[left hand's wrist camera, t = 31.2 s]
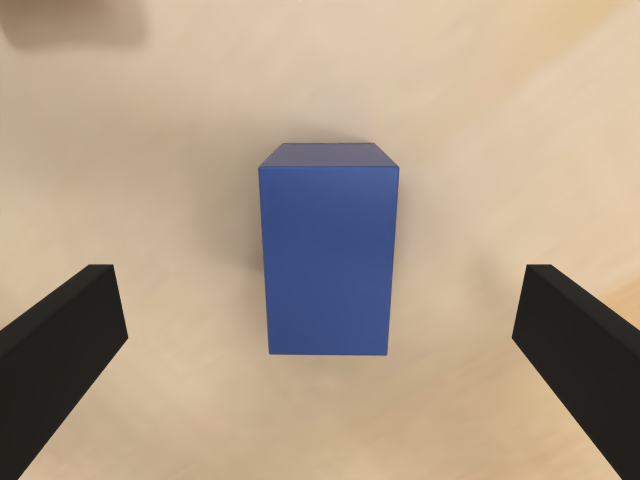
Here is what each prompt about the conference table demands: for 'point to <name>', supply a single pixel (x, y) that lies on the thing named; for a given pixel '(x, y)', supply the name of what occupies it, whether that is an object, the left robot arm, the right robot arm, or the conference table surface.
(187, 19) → the conference table surface
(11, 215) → the conference table surface
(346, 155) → the brick
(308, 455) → the conference table surface
